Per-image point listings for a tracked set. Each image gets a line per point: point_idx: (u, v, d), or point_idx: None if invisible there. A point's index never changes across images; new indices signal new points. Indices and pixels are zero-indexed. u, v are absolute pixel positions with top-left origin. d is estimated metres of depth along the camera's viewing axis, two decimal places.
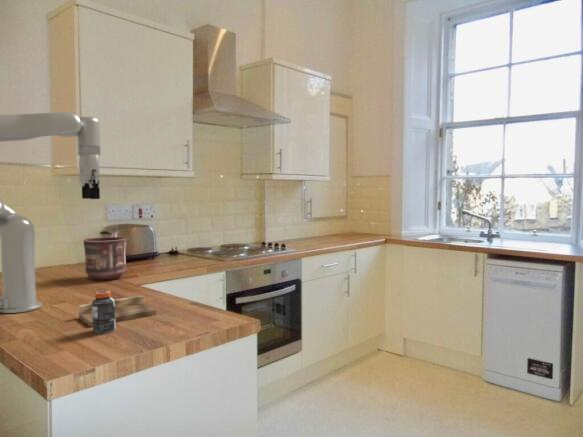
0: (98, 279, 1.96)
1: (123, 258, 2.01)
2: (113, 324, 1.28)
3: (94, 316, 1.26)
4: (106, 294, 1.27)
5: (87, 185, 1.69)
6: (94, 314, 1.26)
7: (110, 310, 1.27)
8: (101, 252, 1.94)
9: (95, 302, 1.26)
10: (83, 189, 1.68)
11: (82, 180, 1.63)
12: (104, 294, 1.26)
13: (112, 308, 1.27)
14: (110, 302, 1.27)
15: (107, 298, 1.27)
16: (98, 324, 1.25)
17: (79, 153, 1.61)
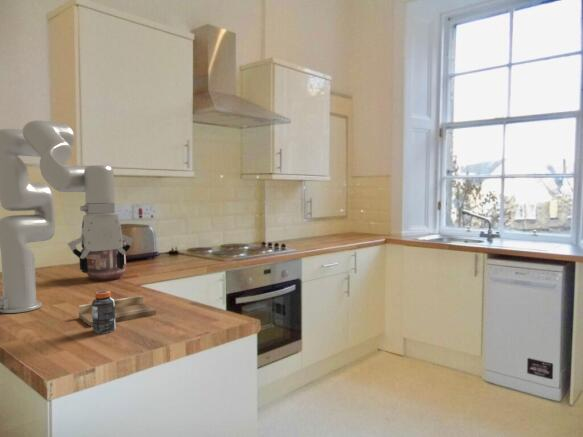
0: (98, 279, 1.96)
1: None
2: (113, 324, 1.28)
3: (94, 316, 1.26)
4: (106, 294, 1.27)
5: None
6: (94, 314, 1.26)
7: (110, 310, 1.27)
8: (101, 252, 1.94)
9: (95, 302, 1.26)
10: (86, 260, 1.23)
11: (107, 247, 1.25)
12: (104, 294, 1.26)
13: (112, 308, 1.27)
14: (110, 302, 1.27)
15: (107, 298, 1.27)
16: (98, 324, 1.25)
17: (108, 213, 1.24)
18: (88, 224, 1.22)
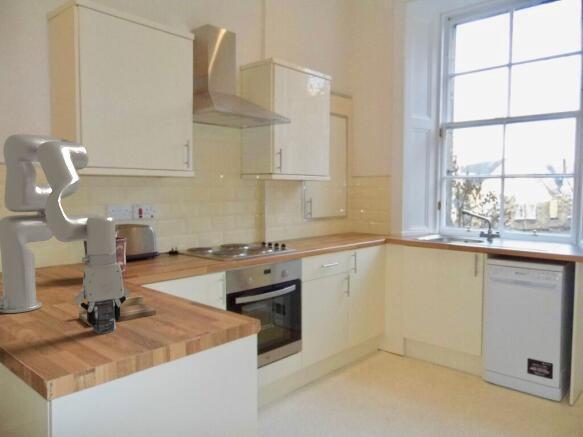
0: None
1: (123, 258, 2.01)
2: (113, 324, 1.28)
3: None
4: None
5: None
6: None
7: (110, 310, 1.27)
8: None
9: (95, 302, 1.26)
10: None
11: (108, 297, 1.26)
12: None
13: (112, 308, 1.27)
14: (110, 302, 1.27)
15: None
16: (98, 324, 1.25)
17: (109, 263, 1.25)
18: (90, 276, 1.23)
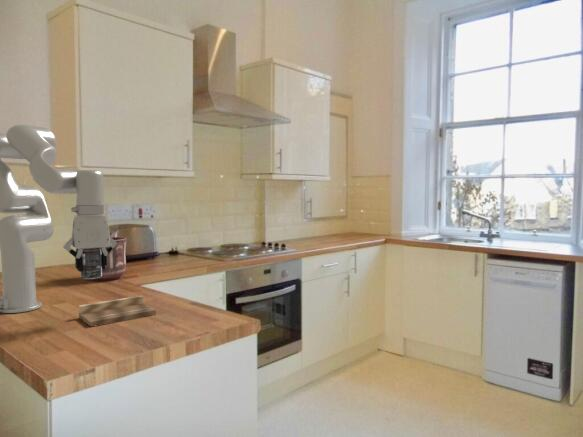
0: (98, 279, 1.96)
1: (123, 258, 2.01)
2: (100, 271, 1.37)
3: None
4: None
5: None
6: (82, 261, 1.35)
7: (97, 258, 1.36)
8: None
9: (83, 249, 1.35)
10: (81, 260, 1.35)
11: (95, 246, 1.35)
12: None
13: (99, 256, 1.37)
14: (97, 250, 1.36)
15: None
16: (85, 270, 1.35)
17: (97, 214, 1.34)
18: (78, 224, 1.32)
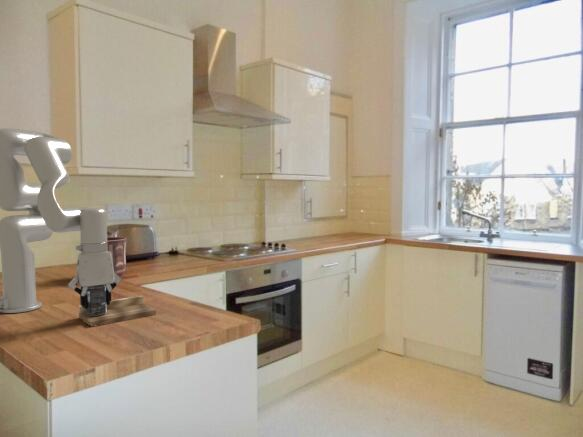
0: None
1: (123, 258, 2.01)
2: (104, 307, 1.39)
3: (87, 300, 1.37)
4: None
5: None
6: (87, 298, 1.37)
7: (101, 295, 1.38)
8: None
9: (88, 287, 1.37)
10: (86, 297, 1.36)
11: (100, 283, 1.37)
12: None
13: (103, 293, 1.38)
14: (101, 287, 1.38)
15: None
16: (90, 307, 1.37)
17: (101, 252, 1.36)
18: (83, 262, 1.34)
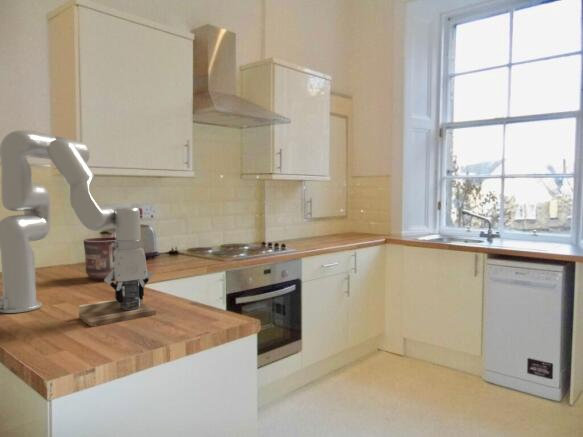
0: (98, 279, 1.96)
1: None
2: (138, 302, 1.46)
3: None
4: None
5: None
6: None
7: (135, 289, 1.44)
8: (101, 252, 1.94)
9: None
10: (121, 292, 1.43)
11: (134, 278, 1.44)
12: None
13: (137, 288, 1.45)
14: (135, 282, 1.44)
15: None
16: (125, 301, 1.43)
17: (135, 248, 1.43)
18: (118, 259, 1.41)
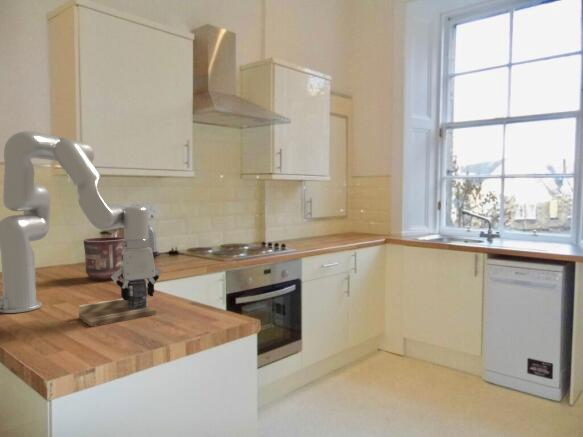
0: (98, 279, 1.96)
1: None
2: (145, 301, 1.47)
3: (129, 294, 1.45)
4: None
5: None
6: (129, 292, 1.45)
7: (143, 289, 1.46)
8: (101, 252, 1.94)
9: (130, 282, 1.45)
10: None
11: (142, 277, 1.46)
12: None
13: (145, 287, 1.47)
14: (143, 282, 1.46)
15: None
16: (133, 301, 1.45)
17: (143, 247, 1.44)
18: (127, 258, 1.42)
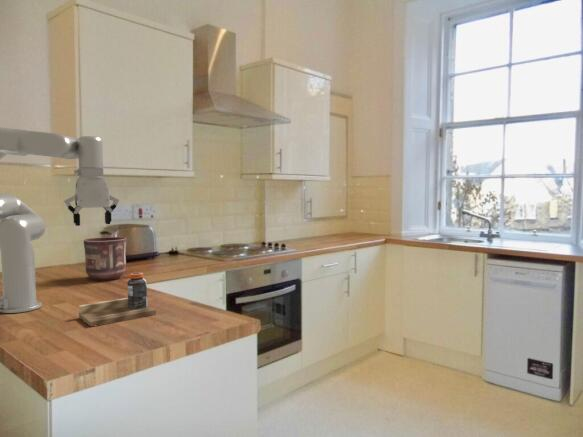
0: (98, 279, 1.96)
1: (123, 258, 2.01)
2: (145, 301, 1.47)
3: (129, 294, 1.45)
4: (140, 275, 1.46)
5: None
6: (129, 292, 1.45)
7: (143, 289, 1.46)
8: (101, 252, 1.94)
9: (130, 282, 1.45)
10: (79, 215, 1.48)
11: (96, 205, 1.50)
12: (138, 275, 1.46)
13: (145, 287, 1.47)
14: (143, 282, 1.46)
15: (140, 278, 1.46)
16: (133, 301, 1.45)
17: (97, 176, 1.49)
18: (80, 185, 1.46)
